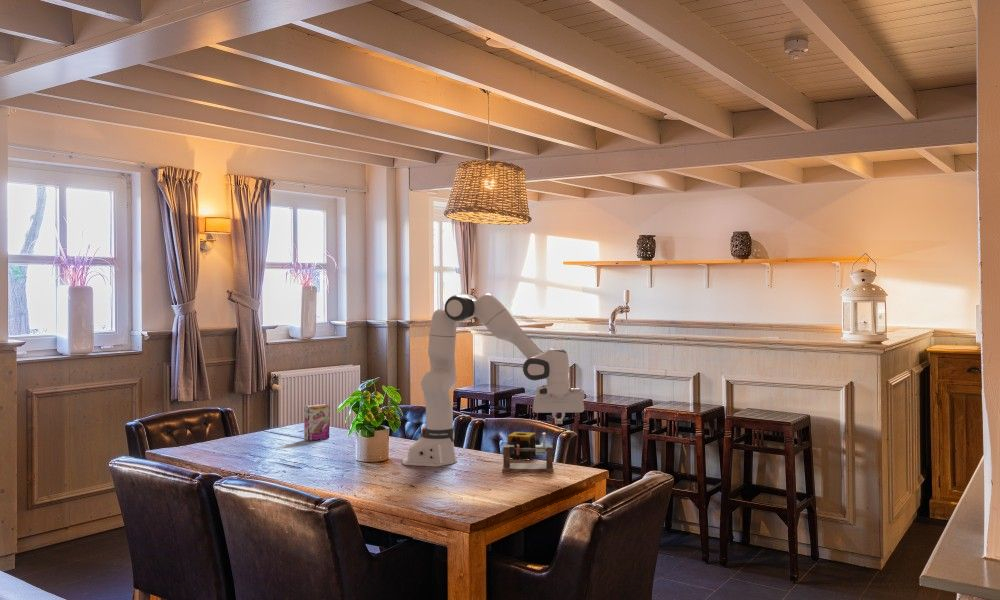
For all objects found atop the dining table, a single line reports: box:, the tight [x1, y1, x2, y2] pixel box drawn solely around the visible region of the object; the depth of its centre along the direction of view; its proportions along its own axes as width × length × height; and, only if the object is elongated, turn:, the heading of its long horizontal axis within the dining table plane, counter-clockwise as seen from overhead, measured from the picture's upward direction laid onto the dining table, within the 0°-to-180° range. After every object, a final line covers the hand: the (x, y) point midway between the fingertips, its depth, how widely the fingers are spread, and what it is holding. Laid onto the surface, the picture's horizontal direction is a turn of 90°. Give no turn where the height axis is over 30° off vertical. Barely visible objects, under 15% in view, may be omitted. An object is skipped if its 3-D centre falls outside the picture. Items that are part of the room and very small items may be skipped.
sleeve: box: [536, 432, 547, 456], centre depth 317 cm, size 4×3×8 cm
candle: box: [507, 431, 537, 461], centre depth 340 cm, size 10×10×10 cm
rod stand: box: [502, 444, 555, 474], centre depth 317 cm, size 20×10×10 cm, turn 87°
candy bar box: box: [303, 403, 330, 442], centre depth 381 cm, size 11×5×16 cm, turn 130°
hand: (558, 423), depth 316 cm, fingers closed
